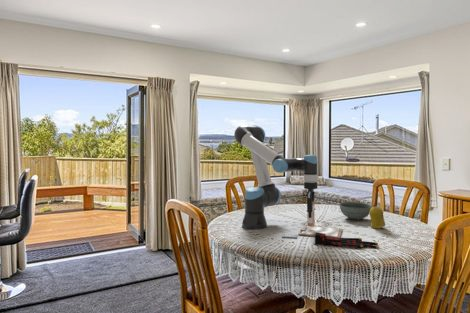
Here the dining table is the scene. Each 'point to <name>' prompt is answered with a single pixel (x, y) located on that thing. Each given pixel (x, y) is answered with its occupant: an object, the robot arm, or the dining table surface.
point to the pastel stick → (313, 216)
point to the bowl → (355, 210)
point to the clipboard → (320, 231)
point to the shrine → (376, 217)
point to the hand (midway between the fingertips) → (310, 222)
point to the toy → (343, 241)
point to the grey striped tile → (289, 235)
